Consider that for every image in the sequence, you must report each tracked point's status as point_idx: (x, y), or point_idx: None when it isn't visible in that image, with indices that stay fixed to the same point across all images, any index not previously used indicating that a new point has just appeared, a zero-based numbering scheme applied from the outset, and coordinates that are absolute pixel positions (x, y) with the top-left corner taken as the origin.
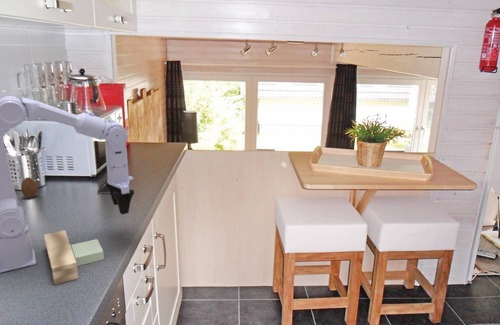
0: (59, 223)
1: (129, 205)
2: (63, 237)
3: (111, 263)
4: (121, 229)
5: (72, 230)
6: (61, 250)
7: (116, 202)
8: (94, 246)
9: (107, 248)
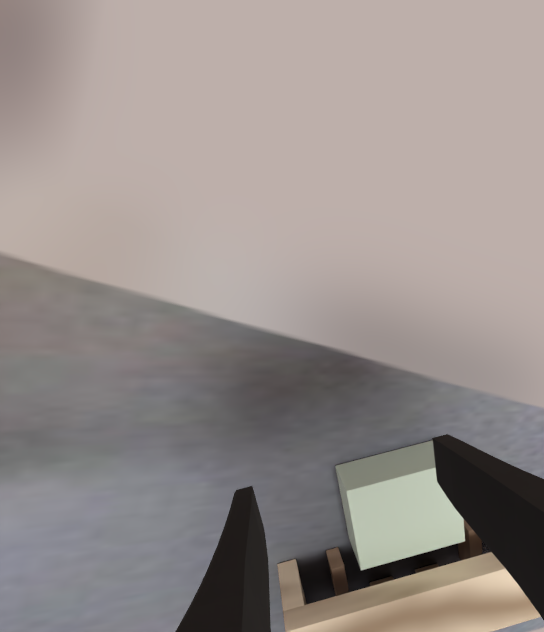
0: (79, 619)
1: (510, 465)
2: (355, 623)
3: (472, 415)
4: (204, 385)
5: (162, 565)
6: (458, 608)
7: (261, 532)
8: (407, 494)
9: (360, 433)
